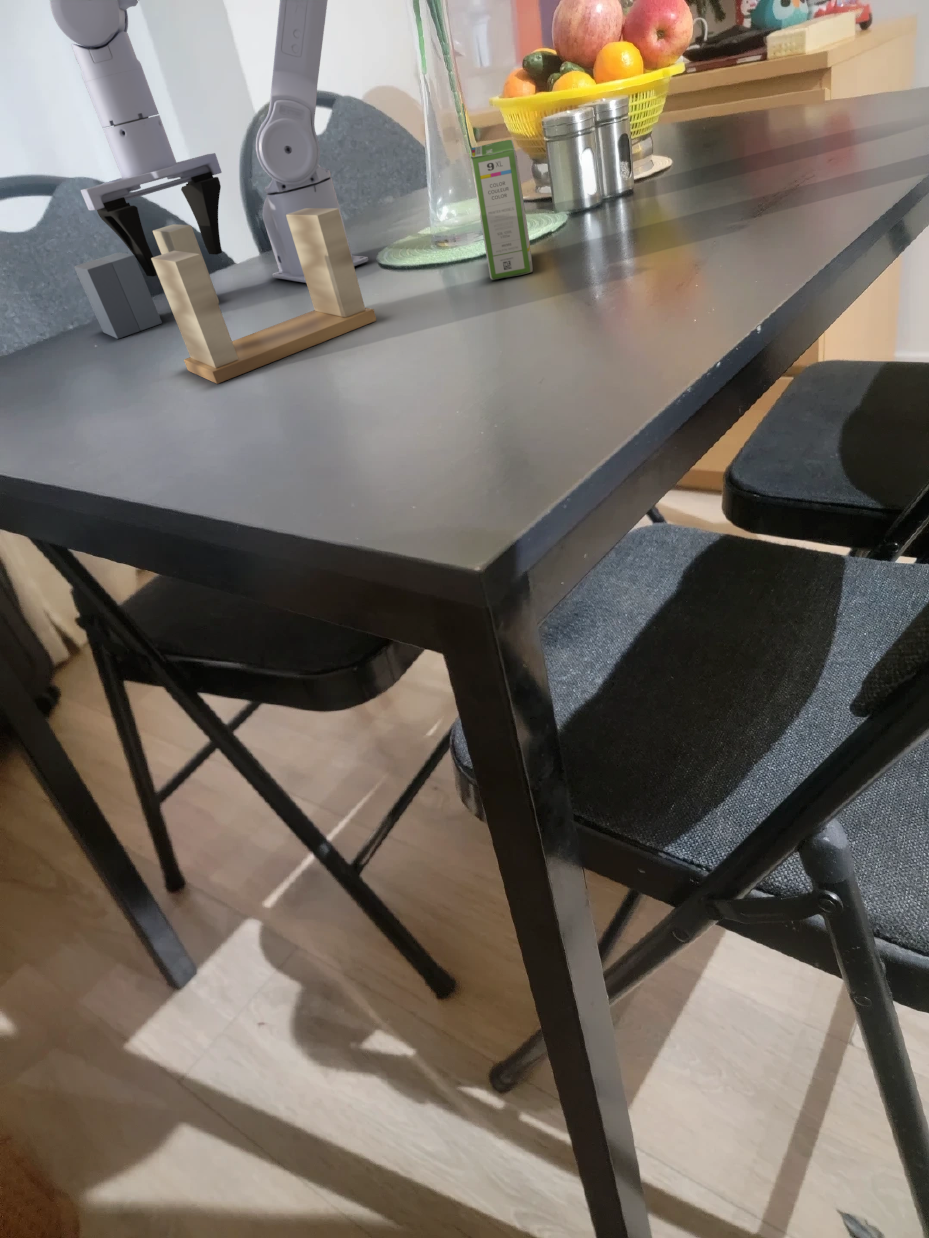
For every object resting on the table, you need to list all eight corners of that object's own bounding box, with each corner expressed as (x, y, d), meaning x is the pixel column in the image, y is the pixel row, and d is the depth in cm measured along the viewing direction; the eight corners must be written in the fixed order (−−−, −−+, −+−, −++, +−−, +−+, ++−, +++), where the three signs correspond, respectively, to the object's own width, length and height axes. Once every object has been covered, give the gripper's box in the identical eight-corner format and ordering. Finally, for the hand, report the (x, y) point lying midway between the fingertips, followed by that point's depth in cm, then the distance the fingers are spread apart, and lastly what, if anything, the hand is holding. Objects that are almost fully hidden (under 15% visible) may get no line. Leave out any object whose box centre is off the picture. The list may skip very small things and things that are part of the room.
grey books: (103, 332, 90) (73, 266, 86) (146, 317, 92) (118, 252, 88) (117, 339, 86) (86, 269, 82) (162, 323, 88) (134, 254, 84)
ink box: (535, 273, 72) (508, 96, 65) (490, 282, 73) (458, 108, 65) (531, 255, 78) (506, 91, 70) (490, 264, 78) (461, 102, 71)
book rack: (187, 371, 70) (142, 259, 64) (339, 312, 75) (308, 206, 70) (217, 384, 64) (170, 264, 59) (376, 320, 70) (347, 206, 65)
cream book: (181, 305, 94) (152, 230, 89) (201, 298, 95) (173, 224, 90) (198, 310, 90) (169, 232, 85) (219, 303, 90) (191, 225, 86)
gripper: (74, 136, 76) (137, 287, 84) (212, 101, 83) (258, 244, 90) (52, 142, 81) (113, 284, 89) (183, 109, 87) (230, 244, 95)
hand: (185, 264), depth 90 cm, fingers open, 7 cm apart
